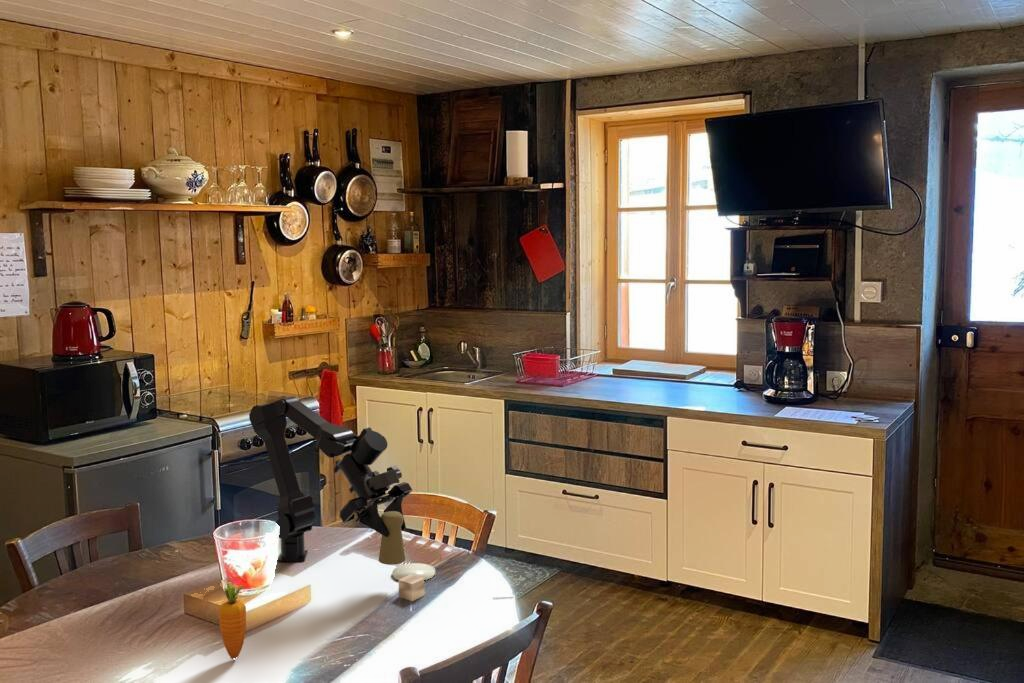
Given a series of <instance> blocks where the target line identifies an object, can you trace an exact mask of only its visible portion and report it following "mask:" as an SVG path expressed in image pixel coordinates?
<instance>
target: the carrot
mask: <svg viewBox="0 0 1024 683" xmlns="http://www.w3.org/2000/svg"><path fill="white" fill-rule="evenodd" d="M244 587H245V586H244V585H240V586H238V587H237V585H235V584H233V585H232V582H228V583H226V587H225V588H224V594H225V596H226V599H227V600H226V601H224V602H223V603H221V604H220V605H219V607H218V617H219V629H220V634H221V637H222V642H223V645H224V648H225V650H226V652H227V655H228V656H229V658H230V659H231V658H236V657H238V658H239V655H240V654H241V651H242V649H243V646H244V642H245V637H246V636H245V635H246V632H247V631H246V629H247V628H246V627H247V608H246V604H245V602H244V601H242V600H239V599H238V598H239V595H238V594H239V592H240V591H241V590H242V589H243V588H244ZM236 588H237V589H236Z"/></svg>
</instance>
